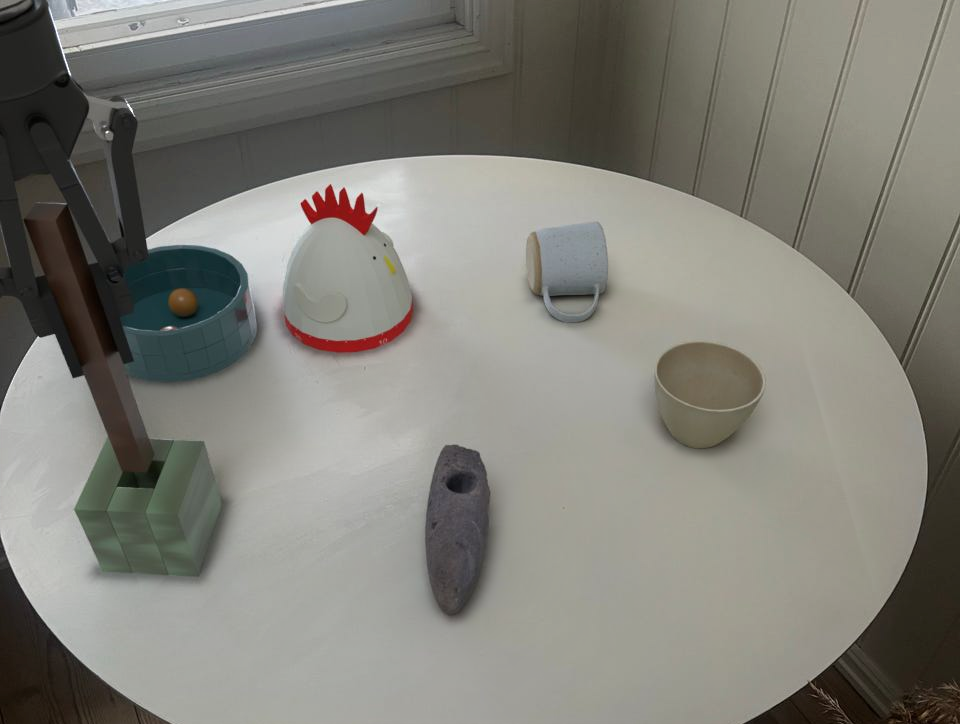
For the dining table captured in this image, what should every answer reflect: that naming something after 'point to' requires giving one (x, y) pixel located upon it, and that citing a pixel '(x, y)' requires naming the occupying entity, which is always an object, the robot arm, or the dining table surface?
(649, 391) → the dining table surface
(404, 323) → the kitchen timer
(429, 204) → the dining table surface
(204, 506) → the holder
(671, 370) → the small beige bowl
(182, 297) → the bead
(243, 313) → the bowl
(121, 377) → the stick
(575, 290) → the ceramic mug
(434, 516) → the perforated stone tool
